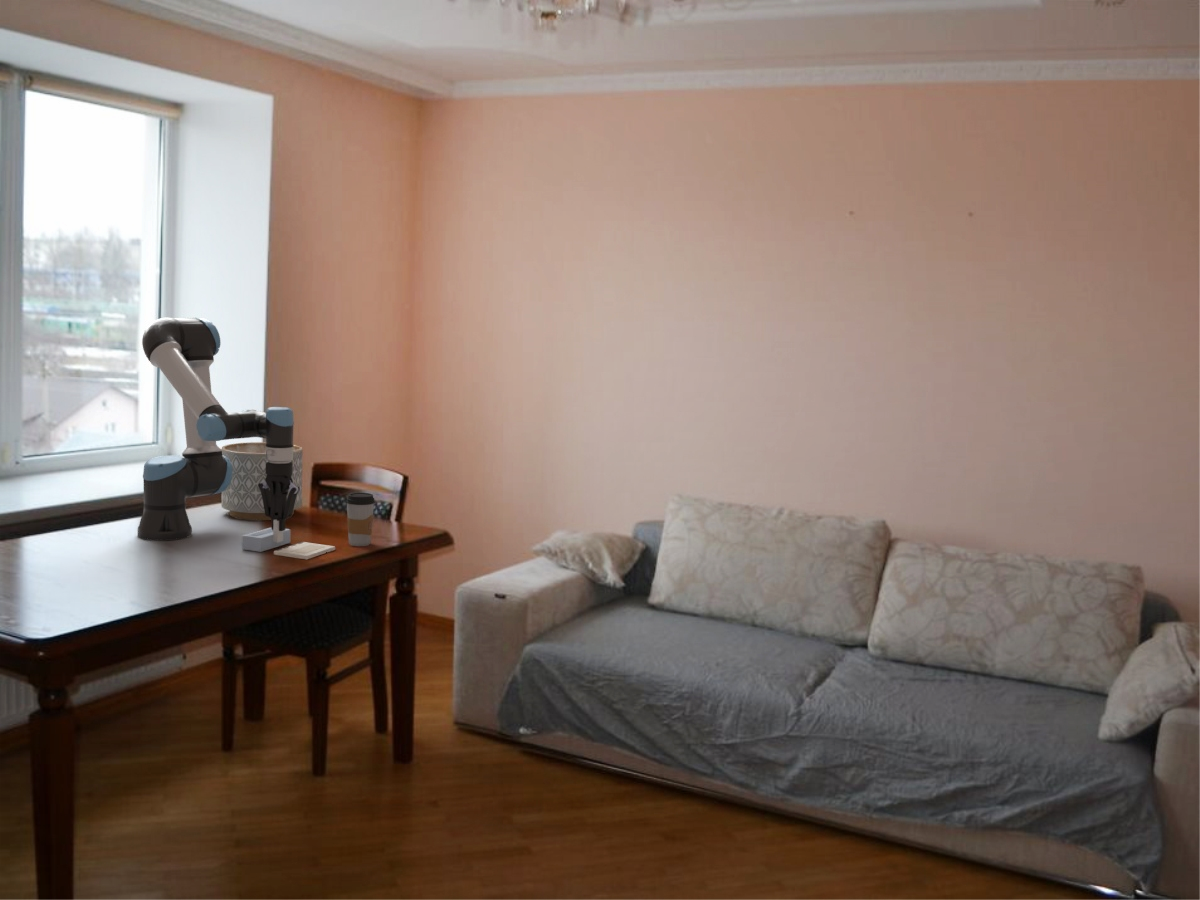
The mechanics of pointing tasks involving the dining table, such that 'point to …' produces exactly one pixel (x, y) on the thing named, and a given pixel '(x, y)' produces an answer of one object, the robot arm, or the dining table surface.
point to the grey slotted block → (263, 540)
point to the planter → (253, 479)
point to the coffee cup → (360, 518)
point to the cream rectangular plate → (304, 550)
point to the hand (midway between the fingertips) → (278, 541)
